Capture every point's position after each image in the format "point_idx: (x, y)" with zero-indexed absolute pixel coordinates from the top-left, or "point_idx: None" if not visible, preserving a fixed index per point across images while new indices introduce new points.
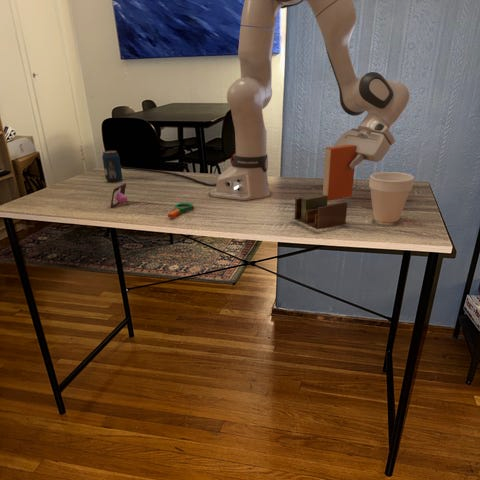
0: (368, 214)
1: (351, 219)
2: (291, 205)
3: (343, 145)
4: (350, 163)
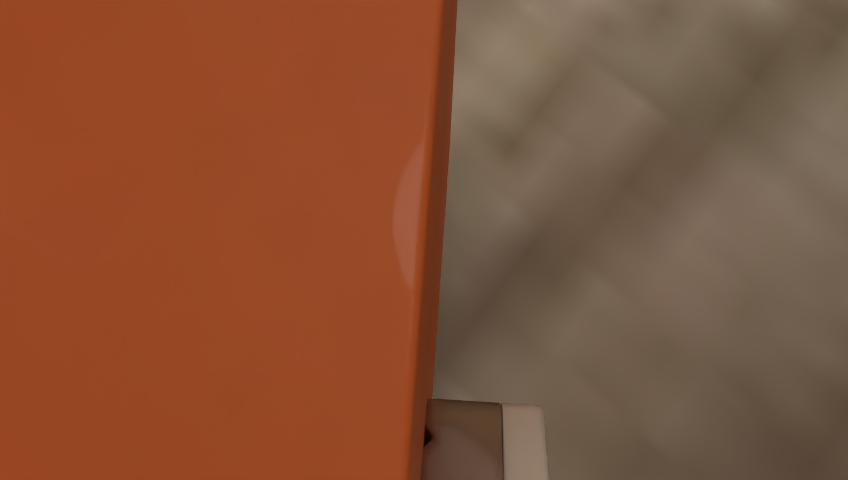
0: None
1: None
2: (752, 27)
3: (364, 402)
4: None
